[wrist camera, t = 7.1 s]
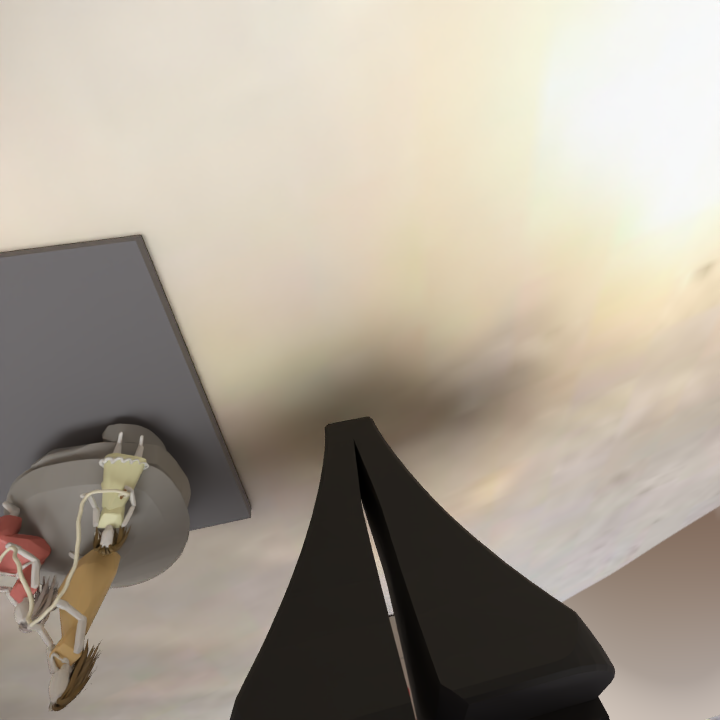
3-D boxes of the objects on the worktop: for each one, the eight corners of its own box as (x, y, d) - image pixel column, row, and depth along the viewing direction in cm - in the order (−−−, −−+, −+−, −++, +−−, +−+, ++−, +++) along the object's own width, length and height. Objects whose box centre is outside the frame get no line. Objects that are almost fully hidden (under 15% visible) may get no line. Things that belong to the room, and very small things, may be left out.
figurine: (175, 542, 13) (117, 783, 8) (23, 523, 12) (-179, 811, 6) (224, 420, 12) (191, 620, 6) (55, 378, 10) (-177, 600, 5)
